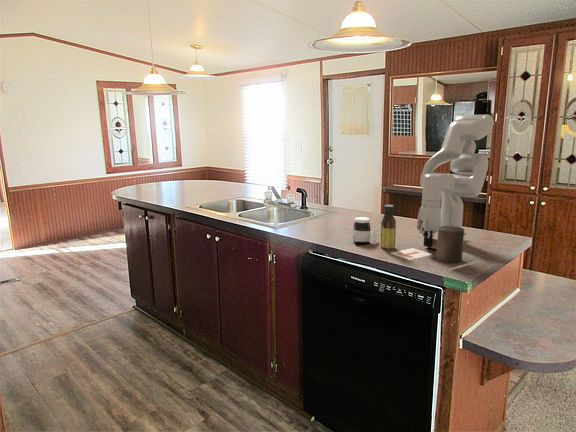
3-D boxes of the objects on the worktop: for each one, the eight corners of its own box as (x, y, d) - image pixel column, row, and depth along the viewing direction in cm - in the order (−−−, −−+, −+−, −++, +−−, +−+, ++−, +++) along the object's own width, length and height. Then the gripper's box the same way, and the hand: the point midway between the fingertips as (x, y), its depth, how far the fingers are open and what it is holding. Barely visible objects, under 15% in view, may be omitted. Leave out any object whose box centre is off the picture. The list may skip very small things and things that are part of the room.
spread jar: (351, 240, 199) (352, 216, 197) (375, 239, 199) (376, 216, 197) (355, 247, 188) (356, 221, 185) (380, 247, 188) (381, 221, 185)
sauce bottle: (384, 246, 188) (386, 203, 183) (397, 249, 184) (399, 204, 180) (377, 250, 183) (379, 205, 178) (390, 252, 179) (392, 207, 175)
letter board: (412, 249, 183) (412, 248, 183) (432, 256, 174) (432, 254, 173) (389, 254, 176) (389, 253, 175) (409, 261, 166) (409, 259, 166)
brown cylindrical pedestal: (461, 266, 160) (464, 228, 157) (434, 263, 164) (437, 226, 161) (461, 259, 169) (464, 223, 166) (436, 256, 173) (439, 221, 170)
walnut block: (431, 248, 185) (434, 239, 185) (442, 251, 180) (445, 242, 180) (423, 245, 182) (426, 236, 182) (434, 248, 177) (437, 239, 177)
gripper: (435, 201, 182) (432, 242, 186) (411, 203, 175) (408, 246, 178) (450, 204, 176) (446, 246, 179) (426, 206, 168) (422, 250, 172)
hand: (427, 246), depth 179 cm, fingers closed
